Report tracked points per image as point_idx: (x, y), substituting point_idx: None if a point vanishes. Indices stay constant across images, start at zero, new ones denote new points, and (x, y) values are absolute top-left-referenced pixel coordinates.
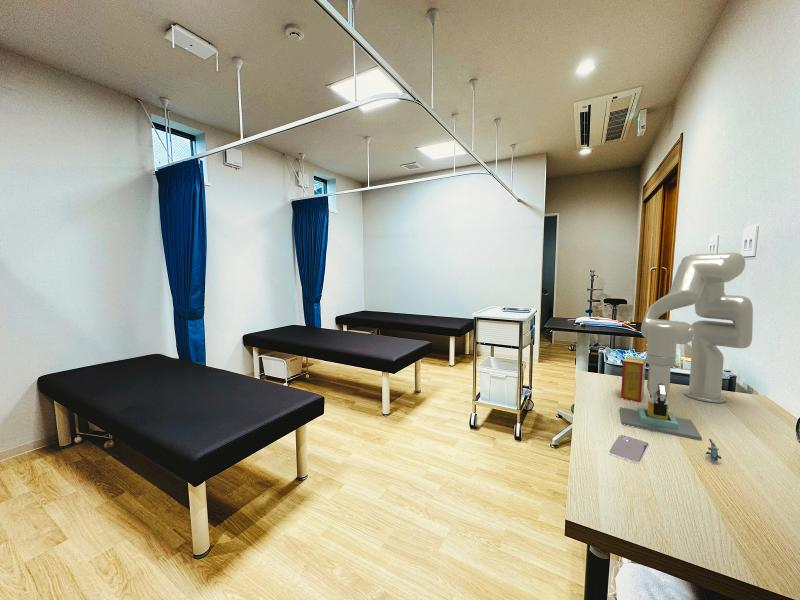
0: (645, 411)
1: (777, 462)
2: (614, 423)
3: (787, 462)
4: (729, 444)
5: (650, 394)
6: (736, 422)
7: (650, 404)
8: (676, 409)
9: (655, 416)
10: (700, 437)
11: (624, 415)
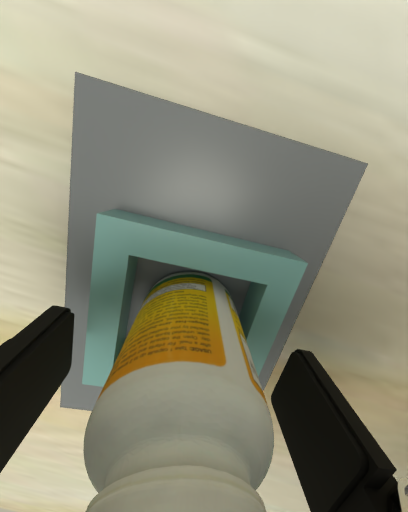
0: (260, 288)
1: (12, 494)
2: (87, 27)
3: (28, 508)
4: (83, 448)
5: (362, 446)
6: (279, 508)
7: (149, 346)
8: (373, 416)
9: (139, 311)
10: (61, 402)
11: (215, 141)
